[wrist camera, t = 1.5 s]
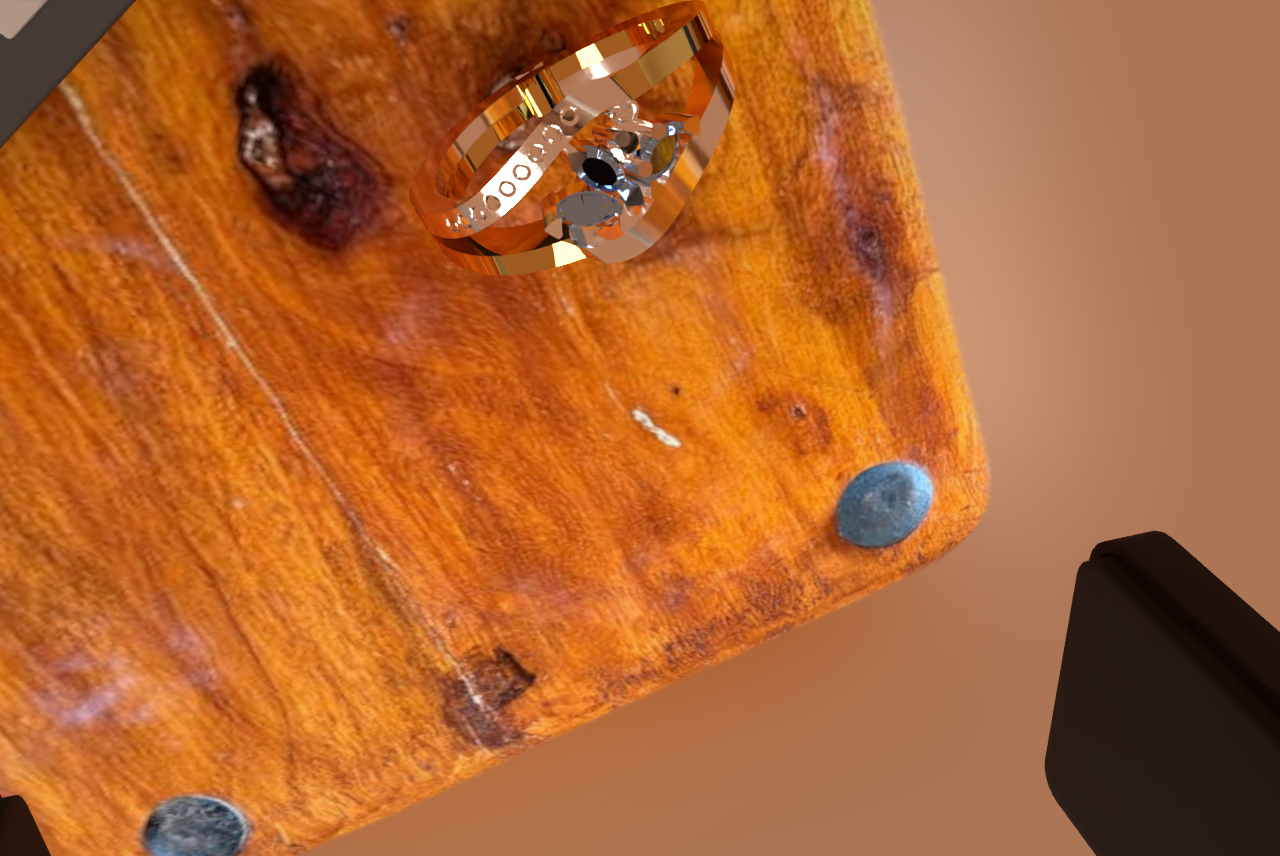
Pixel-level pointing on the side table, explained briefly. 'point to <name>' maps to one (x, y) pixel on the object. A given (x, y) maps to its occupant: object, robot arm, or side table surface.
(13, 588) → the side table surface
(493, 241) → the ring
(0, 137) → the scale
